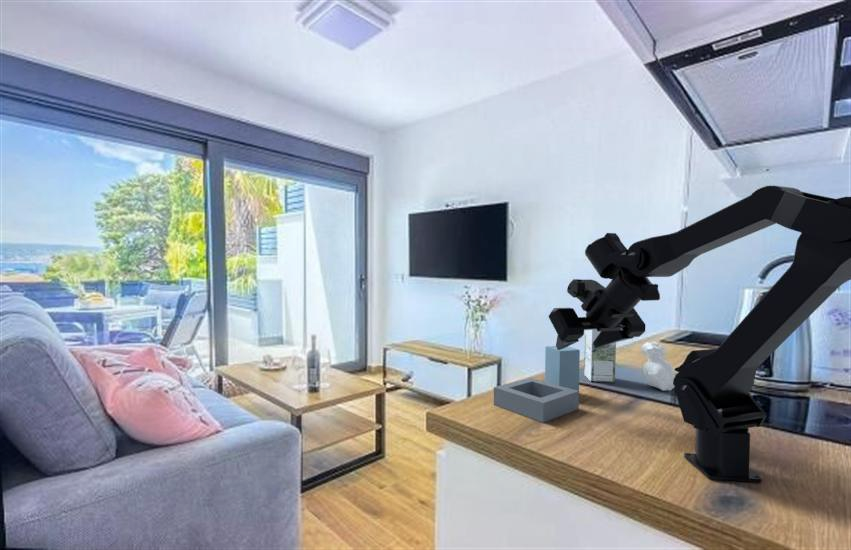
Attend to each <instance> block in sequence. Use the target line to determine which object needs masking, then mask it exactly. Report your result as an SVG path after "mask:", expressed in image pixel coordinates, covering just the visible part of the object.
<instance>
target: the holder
mask: <svg viewBox="0 0 851 550" xmlns="http://www.w3.org/2000/svg"><path fill="white" fill-rule="evenodd" d="M493 405H494V406H495V407H496V406H497V407H498V408H499V407H500V408H501V409H504V410H506V411H507V410H508V411H510V412H512V413H516V414H518V415H520V416H524V417H526V418H529V419H532V420H535V421H537V422H539V423H543V424H545V423H546V422H548V421H551V420H554V419H556V418H559V417H561V416H562V417H563V416H564V415H566V414H570V413H572V412H574V411H577V410H579V406H580V390H579V391H577V390H573V389H570V388H566V387H562V386H559V385H555V384H551V383H548V382H545V380H539V379H535V378H532V377H528V378H523V379H520V380H517V381H512V382H509V383H505V384H501V385H500V384H499V385H497V386H494V387H493Z"/></svg>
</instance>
